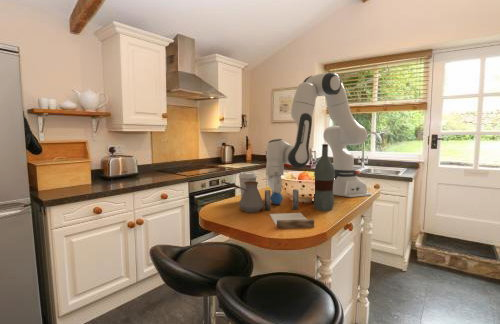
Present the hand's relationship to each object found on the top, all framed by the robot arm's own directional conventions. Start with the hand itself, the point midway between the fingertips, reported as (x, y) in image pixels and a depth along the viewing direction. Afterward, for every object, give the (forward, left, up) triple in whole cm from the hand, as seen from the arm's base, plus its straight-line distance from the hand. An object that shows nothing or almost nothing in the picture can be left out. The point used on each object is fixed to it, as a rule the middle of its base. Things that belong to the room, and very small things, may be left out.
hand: (274, 198), depth 144 cm
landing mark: (-1, +28, -2) cm, 28 cm away
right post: (-7, +14, -2) cm, 16 cm away
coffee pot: (+17, +16, -2) cm, 23 cm away
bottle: (-21, +14, -2) cm, 25 cm away
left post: (+6, +14, -2) cm, 15 cm away
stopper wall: (-1, +38, -2) cm, 38 cm away
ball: (0, +4, +1) cm, 4 cm away
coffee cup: (+13, -2, -2) cm, 14 cm away
